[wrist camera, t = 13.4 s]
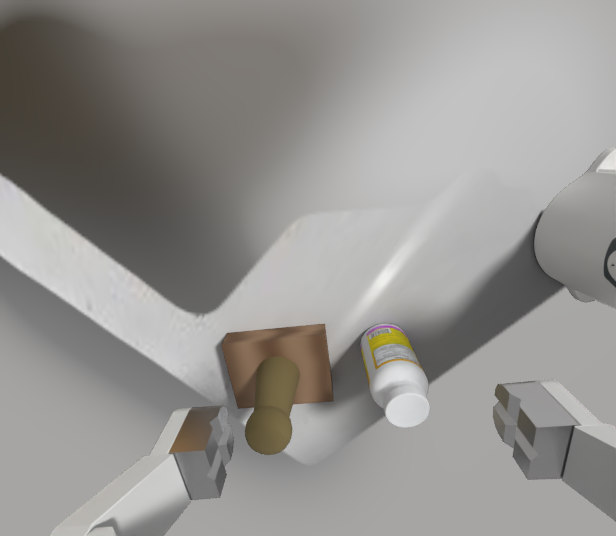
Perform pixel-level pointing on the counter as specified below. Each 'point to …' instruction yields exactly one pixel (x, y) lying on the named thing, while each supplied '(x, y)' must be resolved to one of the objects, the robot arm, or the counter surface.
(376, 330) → the supplement bottle
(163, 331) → the counter surface
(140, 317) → the counter surface
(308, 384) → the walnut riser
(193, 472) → the robot arm
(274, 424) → the cork
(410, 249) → the counter surface
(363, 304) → the counter surface
